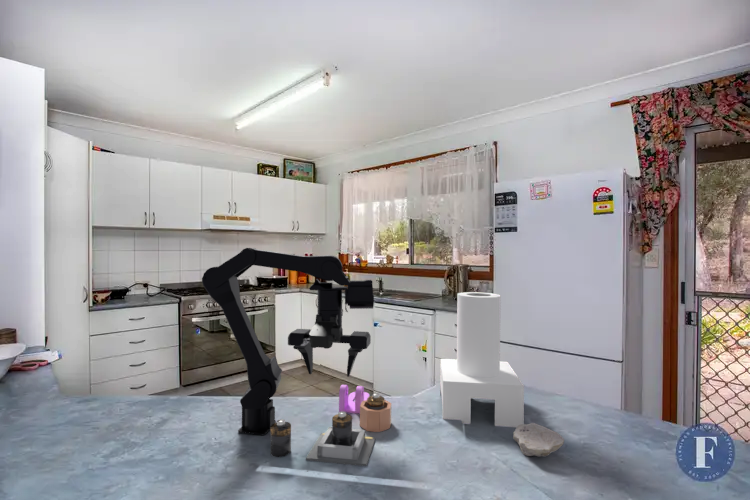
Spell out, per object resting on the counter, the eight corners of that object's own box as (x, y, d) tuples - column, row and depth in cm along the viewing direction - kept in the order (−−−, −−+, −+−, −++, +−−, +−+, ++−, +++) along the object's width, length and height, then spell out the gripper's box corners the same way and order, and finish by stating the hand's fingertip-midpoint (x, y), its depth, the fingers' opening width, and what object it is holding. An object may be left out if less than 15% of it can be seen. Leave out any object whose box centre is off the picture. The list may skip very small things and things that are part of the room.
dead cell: (365, 427, 87) (365, 397, 87) (368, 419, 91) (369, 390, 91) (382, 429, 86) (383, 398, 86) (385, 421, 90) (385, 391, 90)
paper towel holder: (440, 392, 111) (441, 289, 110) (507, 396, 108) (508, 291, 108) (442, 422, 92) (443, 298, 92) (523, 427, 89) (524, 300, 89)
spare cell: (267, 460, 75) (267, 424, 75) (275, 449, 79) (275, 415, 79) (286, 462, 74) (286, 426, 74) (293, 451, 78) (294, 417, 78)
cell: (329, 451, 76) (329, 416, 76) (335, 441, 80) (335, 408, 80) (349, 453, 75) (349, 418, 75) (353, 442, 79) (353, 409, 79)
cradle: (305, 464, 74) (305, 447, 74) (321, 438, 84) (321, 423, 84) (366, 470, 72) (366, 453, 72) (375, 443, 82) (375, 428, 82)
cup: (357, 433, 86) (358, 409, 86) (363, 419, 93) (363, 397, 93) (388, 436, 85) (388, 412, 85) (392, 422, 92) (392, 399, 92)
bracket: (360, 417, 94) (360, 389, 94) (338, 415, 96) (339, 387, 96) (371, 397, 107) (371, 372, 107) (352, 395, 108) (352, 371, 108)
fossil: (531, 453, 73) (507, 412, 82) (526, 476, 76) (504, 434, 85) (573, 446, 74) (545, 407, 83) (567, 469, 77) (541, 429, 86)
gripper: (278, 313, 83) (277, 384, 83) (362, 316, 80) (361, 390, 80) (296, 305, 94) (296, 368, 94) (371, 308, 91) (370, 373, 91)
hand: (329, 375), depth 89 cm, fingers open, 9 cm apart
